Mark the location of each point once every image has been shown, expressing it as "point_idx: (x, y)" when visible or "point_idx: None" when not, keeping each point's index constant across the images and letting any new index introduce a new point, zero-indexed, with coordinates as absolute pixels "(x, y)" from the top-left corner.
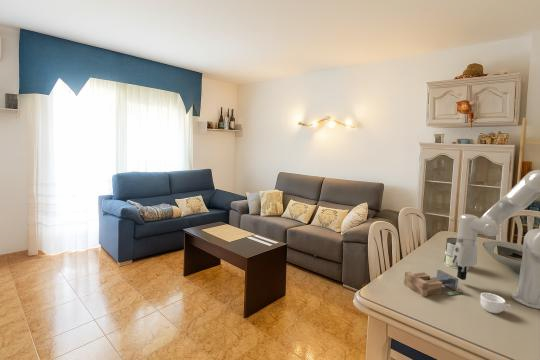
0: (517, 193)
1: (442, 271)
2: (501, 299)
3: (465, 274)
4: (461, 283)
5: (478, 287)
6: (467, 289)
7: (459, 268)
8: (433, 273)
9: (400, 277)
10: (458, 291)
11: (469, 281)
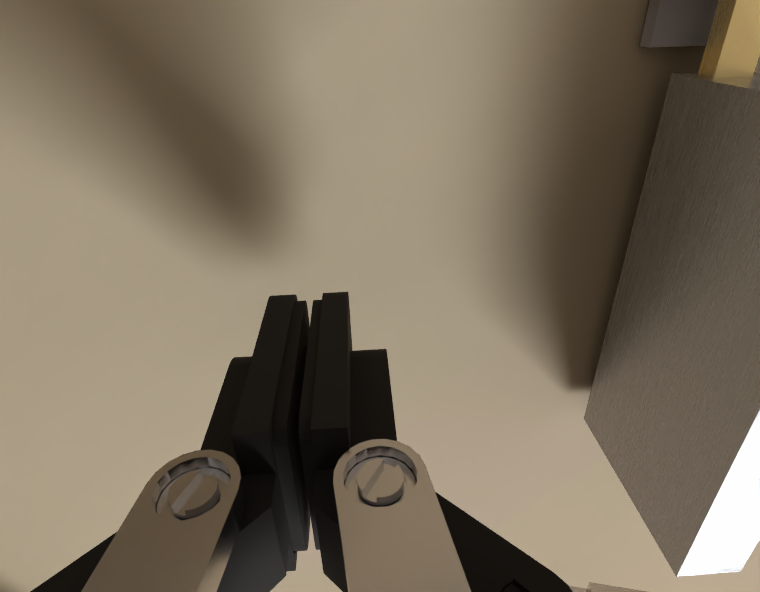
0: None
1: (721, 525)
2: None
3: (282, 372)
4: None
5: (54, 124)
6: (370, 93)
7: (534, 567)
8: None
9: None
10: (694, 18)
11: (80, 337)
